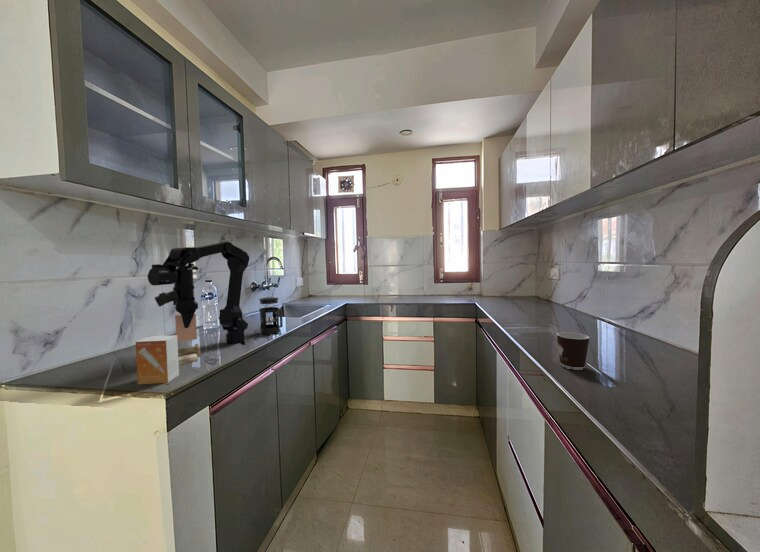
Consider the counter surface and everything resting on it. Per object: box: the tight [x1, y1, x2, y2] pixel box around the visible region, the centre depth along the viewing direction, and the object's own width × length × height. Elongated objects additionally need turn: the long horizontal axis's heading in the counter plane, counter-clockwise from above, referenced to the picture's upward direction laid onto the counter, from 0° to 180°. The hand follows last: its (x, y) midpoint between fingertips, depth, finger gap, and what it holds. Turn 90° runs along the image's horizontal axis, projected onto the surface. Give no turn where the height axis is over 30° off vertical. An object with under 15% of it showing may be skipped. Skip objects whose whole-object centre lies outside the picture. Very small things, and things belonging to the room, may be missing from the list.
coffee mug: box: [556, 331, 590, 367], centre depth 97 cm, size 12×9×10 cm
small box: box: [135, 334, 180, 386], centre depth 89 cm, size 8×6×13 cm
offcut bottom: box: [179, 361, 198, 366], centre depth 105 cm, size 6×5×2 cm
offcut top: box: [178, 353, 199, 365], centre depth 105 cm, size 6×4×2 cm
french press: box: [258, 285, 283, 336], centre depth 148 cm, size 12×9×23 cm
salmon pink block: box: [174, 313, 198, 343], centre depth 108 cm, size 6×3×9 cm, turn 127°
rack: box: [178, 343, 202, 358], centre depth 111 cm, size 9×8×4 cm
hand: (186, 327), depth 108 cm, fingers closed on salmon pink block, 3 cm apart
